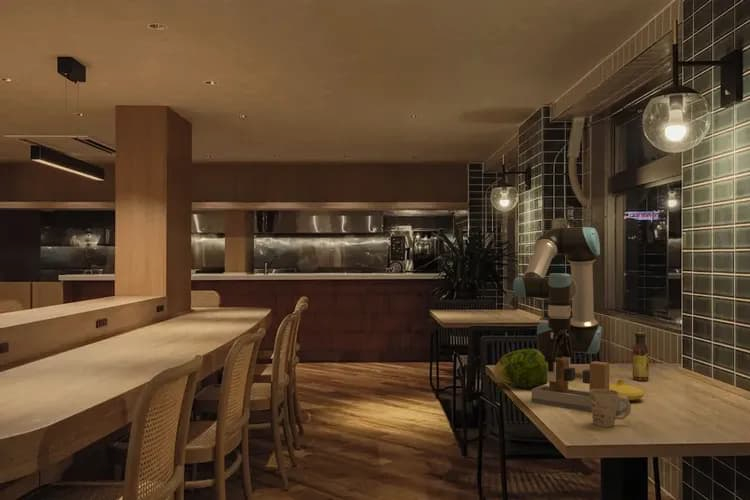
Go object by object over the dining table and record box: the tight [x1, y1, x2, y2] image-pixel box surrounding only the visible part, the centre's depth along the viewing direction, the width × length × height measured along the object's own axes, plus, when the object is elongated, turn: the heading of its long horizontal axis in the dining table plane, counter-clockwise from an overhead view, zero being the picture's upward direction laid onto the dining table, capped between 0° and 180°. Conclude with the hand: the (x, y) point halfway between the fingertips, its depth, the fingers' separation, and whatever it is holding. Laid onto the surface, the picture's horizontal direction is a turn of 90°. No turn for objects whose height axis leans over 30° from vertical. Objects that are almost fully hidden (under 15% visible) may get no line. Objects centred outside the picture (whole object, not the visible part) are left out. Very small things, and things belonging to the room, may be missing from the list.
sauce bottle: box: [632, 332, 650, 382], centre depth 267 cm, size 6×6×20 cm
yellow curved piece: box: [609, 378, 645, 402], centre depth 230 cm, size 16×16×7 cm
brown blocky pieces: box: [530, 360, 628, 416], centre depth 218 cm, size 30×10×16 cm, turn 53°
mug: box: [588, 389, 632, 428], centre depth 194 cm, size 8×13×10 cm, turn 95°
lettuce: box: [493, 348, 549, 389], centre depth 250 cm, size 16×21×15 cm
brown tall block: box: [548, 357, 576, 393], centre depth 222 cm, size 8×5×14 cm, turn 54°
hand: (558, 378), depth 223 cm, fingers open, 13 cm apart
